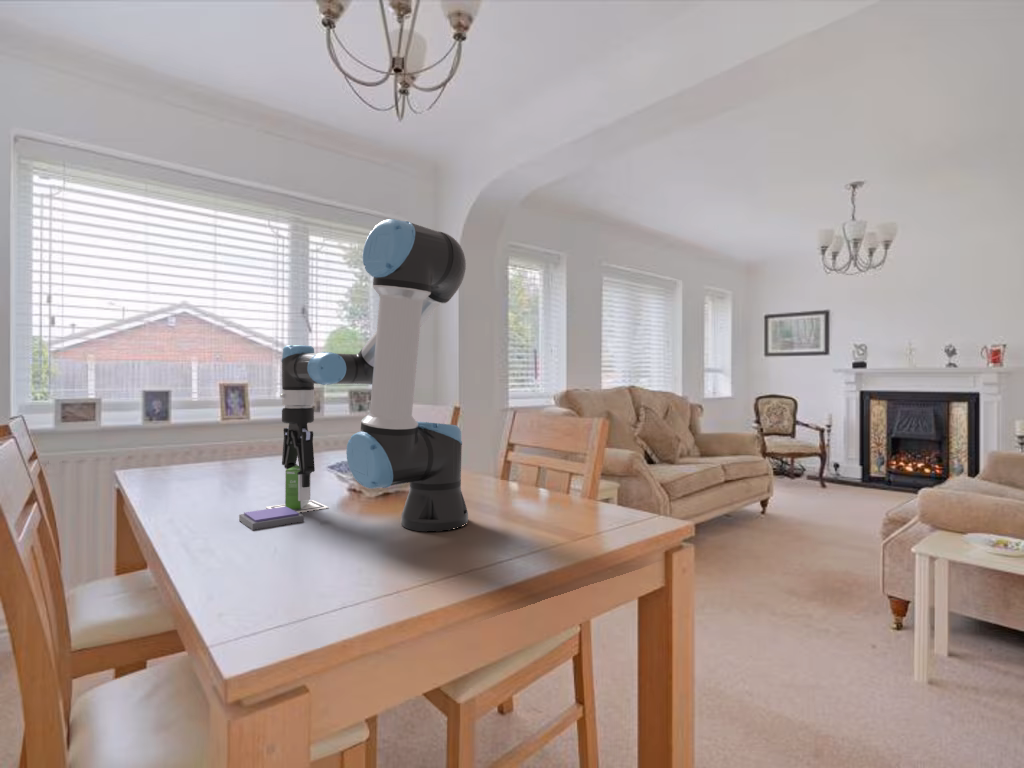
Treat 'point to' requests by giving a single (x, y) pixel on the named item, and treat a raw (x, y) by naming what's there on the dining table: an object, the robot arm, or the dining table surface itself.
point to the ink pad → (270, 517)
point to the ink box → (293, 489)
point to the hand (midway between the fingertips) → (297, 496)
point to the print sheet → (309, 507)
